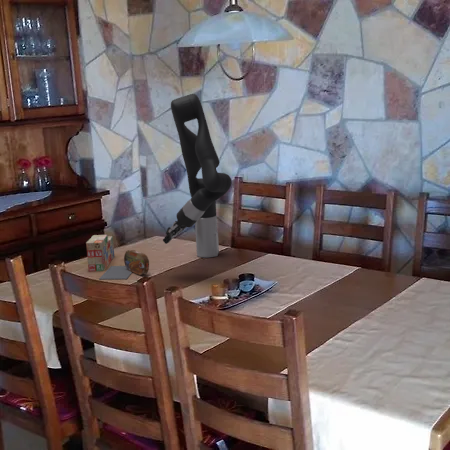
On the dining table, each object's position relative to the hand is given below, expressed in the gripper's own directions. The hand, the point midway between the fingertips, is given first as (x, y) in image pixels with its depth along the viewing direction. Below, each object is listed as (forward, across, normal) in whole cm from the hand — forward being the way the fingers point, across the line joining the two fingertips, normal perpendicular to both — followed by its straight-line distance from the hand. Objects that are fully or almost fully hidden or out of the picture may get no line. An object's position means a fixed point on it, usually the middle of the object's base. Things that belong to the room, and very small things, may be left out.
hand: (165, 241), depth 243 cm
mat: (+24, +3, -5) cm, 25 cm away
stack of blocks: (+35, -6, -15) cm, 38 cm away
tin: (+19, 0, 0) cm, 19 cm away
